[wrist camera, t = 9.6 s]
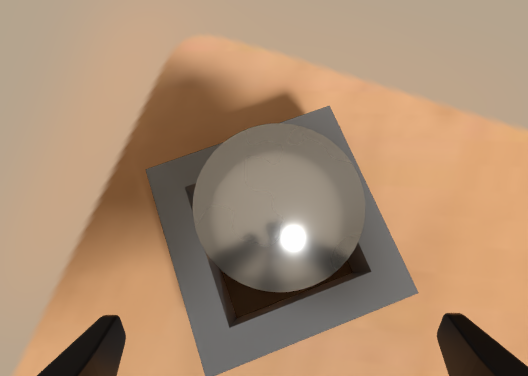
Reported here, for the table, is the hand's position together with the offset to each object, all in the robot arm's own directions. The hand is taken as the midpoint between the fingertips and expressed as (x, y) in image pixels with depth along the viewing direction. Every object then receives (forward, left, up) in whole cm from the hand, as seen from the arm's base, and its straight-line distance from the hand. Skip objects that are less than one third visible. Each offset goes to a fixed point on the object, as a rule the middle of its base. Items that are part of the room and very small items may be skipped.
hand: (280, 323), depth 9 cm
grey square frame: (+3, -1, -9) cm, 10 cm away
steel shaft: (+3, -1, -9) cm, 10 cm away
